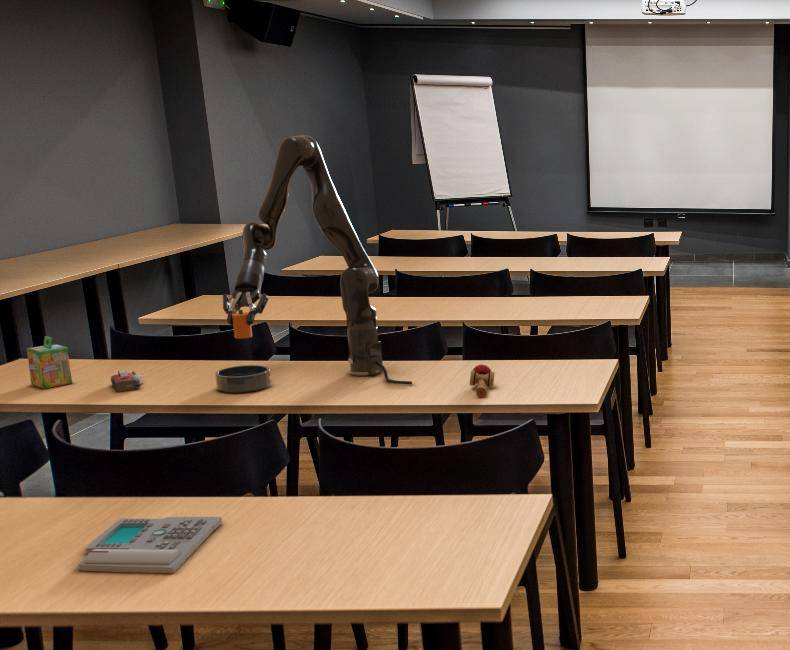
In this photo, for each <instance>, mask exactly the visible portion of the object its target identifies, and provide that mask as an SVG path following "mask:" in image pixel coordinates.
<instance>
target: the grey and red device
mask: <svg viewBox="0 0 790 650" xmlns="http://www.w3.org/2000/svg"><path fill="white" fill-rule="evenodd" d="M110 382H111V385H112V387H113V389H115V391H116V392H118V393H119V392H120V393H121V392H129V391H137V390H139V389H140V387H141V385H142V383H144V380H143V376H142V374H141V373H138V374H137V373H136V371H132V372H128V371H127V370H126V369H123V370H118V371H117V374H113V375H112V376H110Z"/></svg>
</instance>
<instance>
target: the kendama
mask: <svg viewBox="0 0 790 650" xmlns="http://www.w3.org/2000/svg"><path fill="white" fill-rule="evenodd" d="M495 374H496V373H495V371H492V369H491V368H490V367H489V366H488V365H486V364H478V365H475V366H474V368H473V369H472V370H471V371H470V377H469V386H471V387H474V386H475V385H477V386H476V390H475V394H476V396H477V397H478V398H485V397H486V396H487V391H488V390H487V388H488V389H493V388H494V384H495V383H494V382H495Z"/></svg>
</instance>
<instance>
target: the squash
mask: <svg viewBox="0 0 790 650" xmlns="http://www.w3.org/2000/svg"><path fill="white" fill-rule="evenodd" d="M248 313H249V312H244V311H243V309H240V310H238V311H237V312H236V313H235V314H232V319H233V325H232V327H233V337H234V339H238V340H240V339H243V340H244V339H249V338H252V337H253V330H252V325H248V323H247V318H248Z"/></svg>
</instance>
